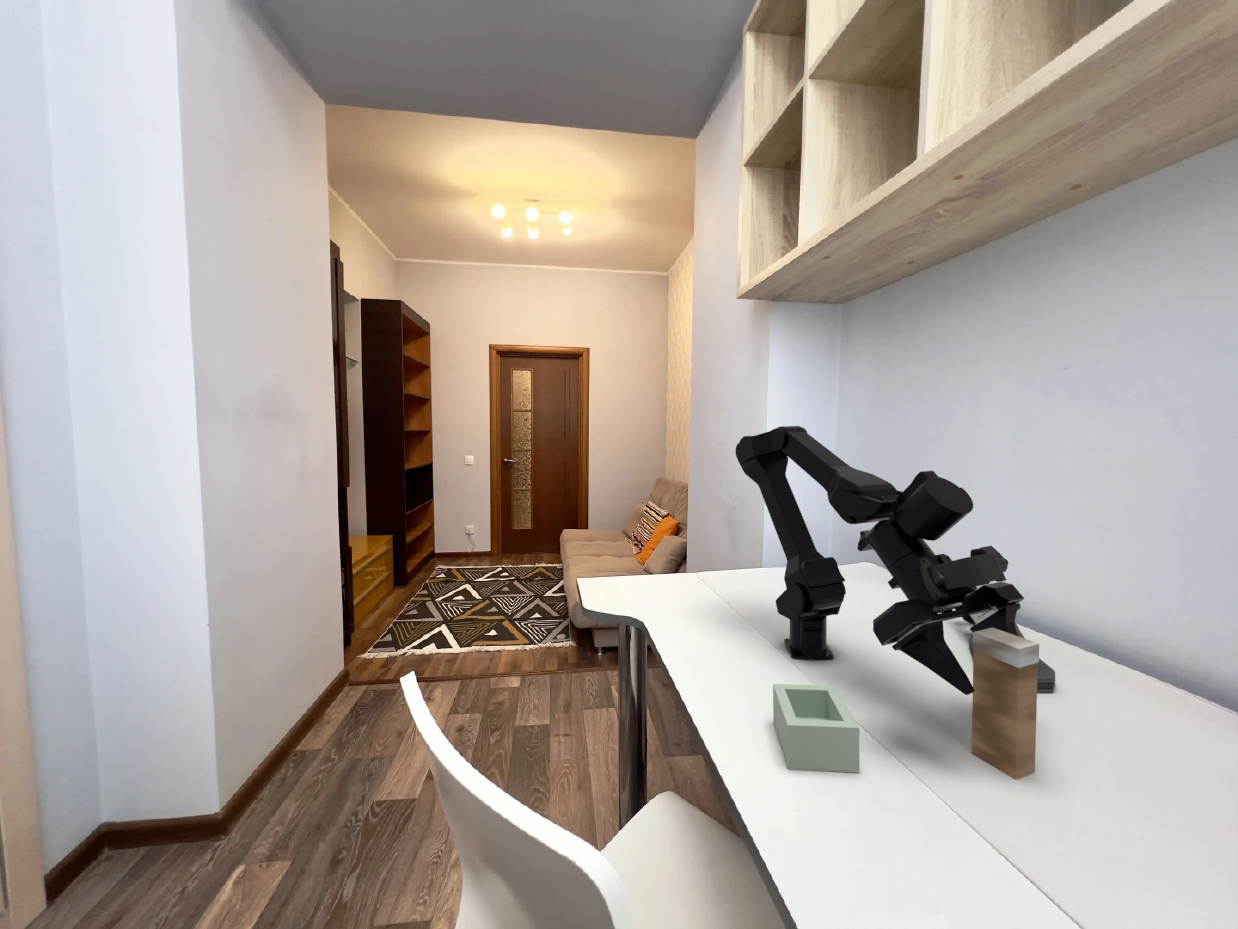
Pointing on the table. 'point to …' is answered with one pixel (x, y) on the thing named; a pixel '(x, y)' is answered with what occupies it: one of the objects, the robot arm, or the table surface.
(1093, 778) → the table surface
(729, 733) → the table surface
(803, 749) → the post foot
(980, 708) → the rail end
